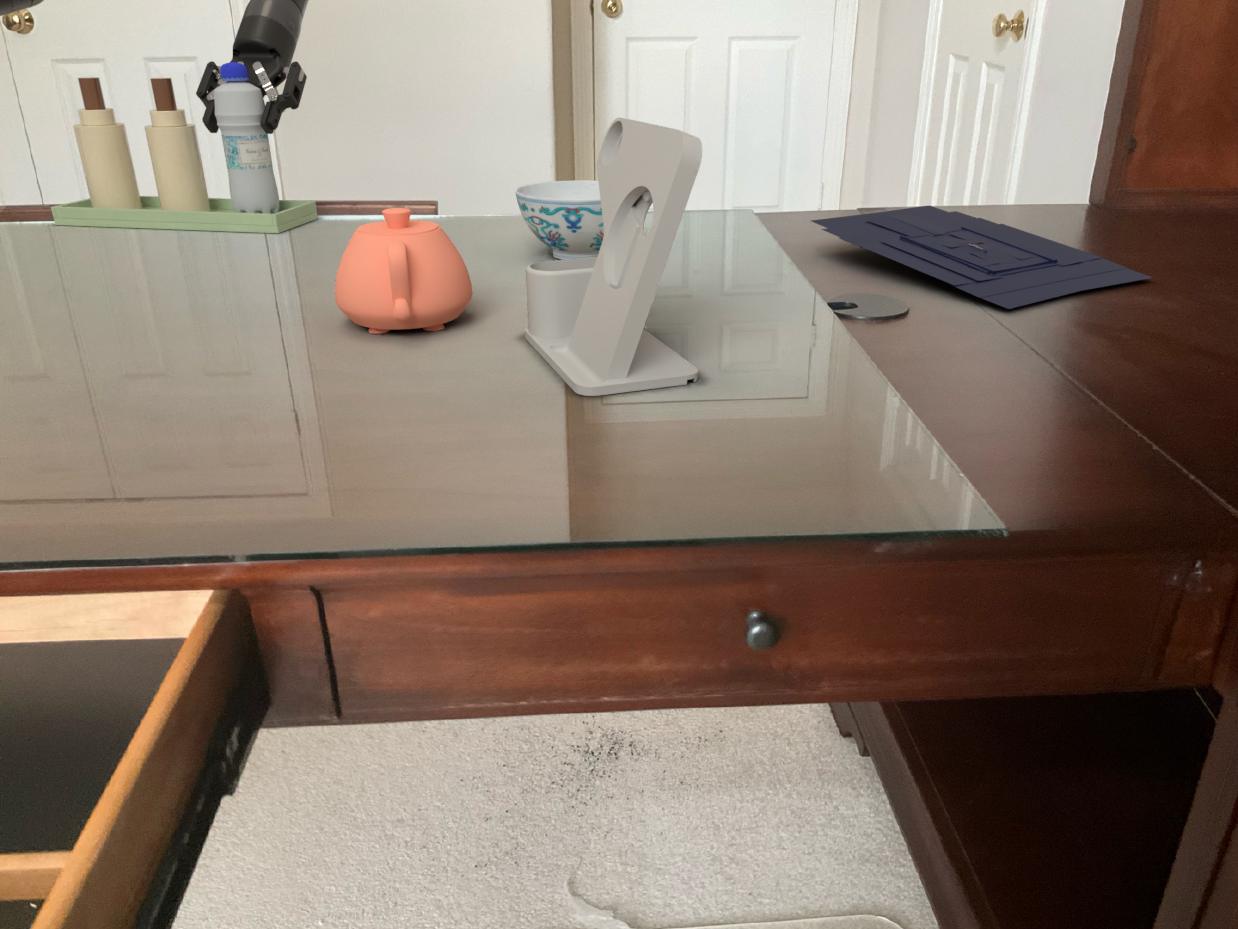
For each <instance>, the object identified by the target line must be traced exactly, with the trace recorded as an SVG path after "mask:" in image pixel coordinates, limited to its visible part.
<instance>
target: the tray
mask: <svg viewBox="0 0 1238 929" xmlns="http://www.w3.org/2000/svg"><path fill="white" fill-rule="evenodd" d="M208 198H209V203H210V209H211V212H205V211H176V210H161V206H160V201H159V196H158V195H157V196H154V195H140V199H141V204H142V208H143V209H116V208H92V205H91V200H90V197H89V198H85V199H80V200H75V201H71V202H67V203H62V204H58V205H54V206H50V210H51V214H52V218H53V221H54V225H55V226H65V227H66V226H67V227H68V226H72V227H93V228H95V227H96V228H121V229H122V228H123V229H124V228H125V229H146V230H147V229H148V230H175V231H176V230H177V231H179V230H180V231H204V232H207V231H208V232H229V233H230V232H231V233H257V234H280V233H283V232H286V231H288V230H291V229H295V228H297V227H299V226H302V225H305V224H308V223H310V222H313V221H316V220H318V219H319V216H318V212H317V211H318V210H317V203H316V202H317V201H316V200H289V199H288V200H286V199H285V200H283V199H279V211H278V213H275V214H265V213H260V212H259V211H257V212H256V213H236V212H235V210H234V207H233V205H232V202H231V198H220V197H208Z"/></svg>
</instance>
